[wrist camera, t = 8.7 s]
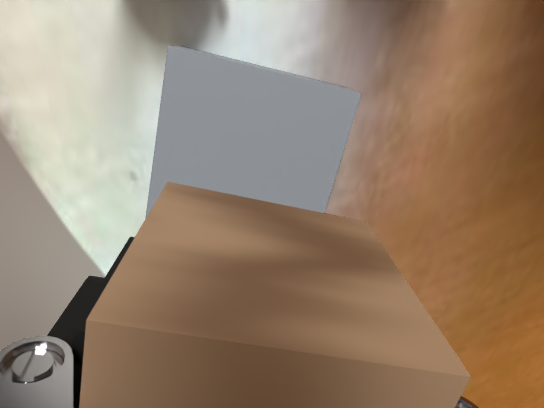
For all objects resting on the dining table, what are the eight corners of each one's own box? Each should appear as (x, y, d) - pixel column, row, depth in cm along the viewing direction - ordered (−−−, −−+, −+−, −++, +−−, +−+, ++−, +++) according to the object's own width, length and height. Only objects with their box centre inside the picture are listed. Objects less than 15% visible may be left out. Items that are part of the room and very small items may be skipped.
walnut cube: (366, 221, 12) (472, 377, 6) (312, 370, 14) (356, 584, 8) (167, 181, 11) (86, 319, 5) (143, 346, 13) (66, 566, 8)
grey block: (343, 86, 29) (361, 93, 24) (301, 228, 33) (310, 258, 29) (181, 45, 27) (167, 45, 23) (159, 201, 31) (144, 227, 27)
